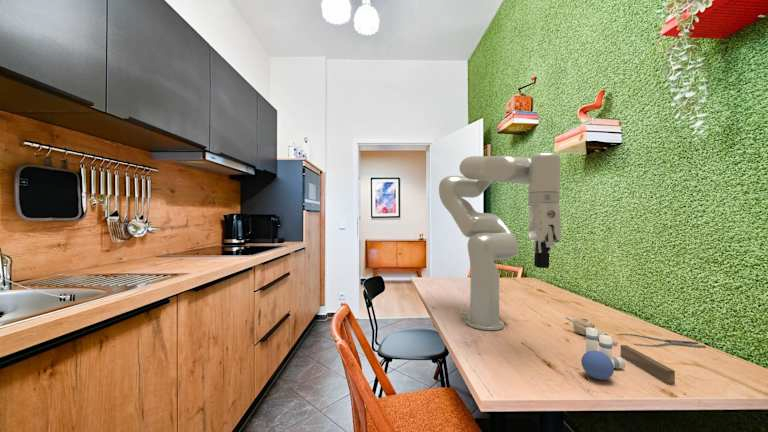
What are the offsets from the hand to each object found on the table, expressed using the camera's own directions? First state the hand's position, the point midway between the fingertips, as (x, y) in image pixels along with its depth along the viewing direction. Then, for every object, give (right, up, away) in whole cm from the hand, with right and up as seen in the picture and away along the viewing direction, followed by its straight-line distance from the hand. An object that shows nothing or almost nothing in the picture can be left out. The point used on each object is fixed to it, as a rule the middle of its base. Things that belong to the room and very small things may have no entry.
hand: (541, 267), depth 82 cm
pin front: (+7, -22, -8) cm, 24 cm away
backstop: (+20, -23, -9) cm, 32 cm away
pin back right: (+9, -23, -11) cm, 27 cm away
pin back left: (+10, -23, -6) cm, 26 cm away
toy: (+21, -24, +12) cm, 35 cm away
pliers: (+40, -25, +10) cm, 48 cm away
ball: (+6, -20, -13) cm, 25 cm away
